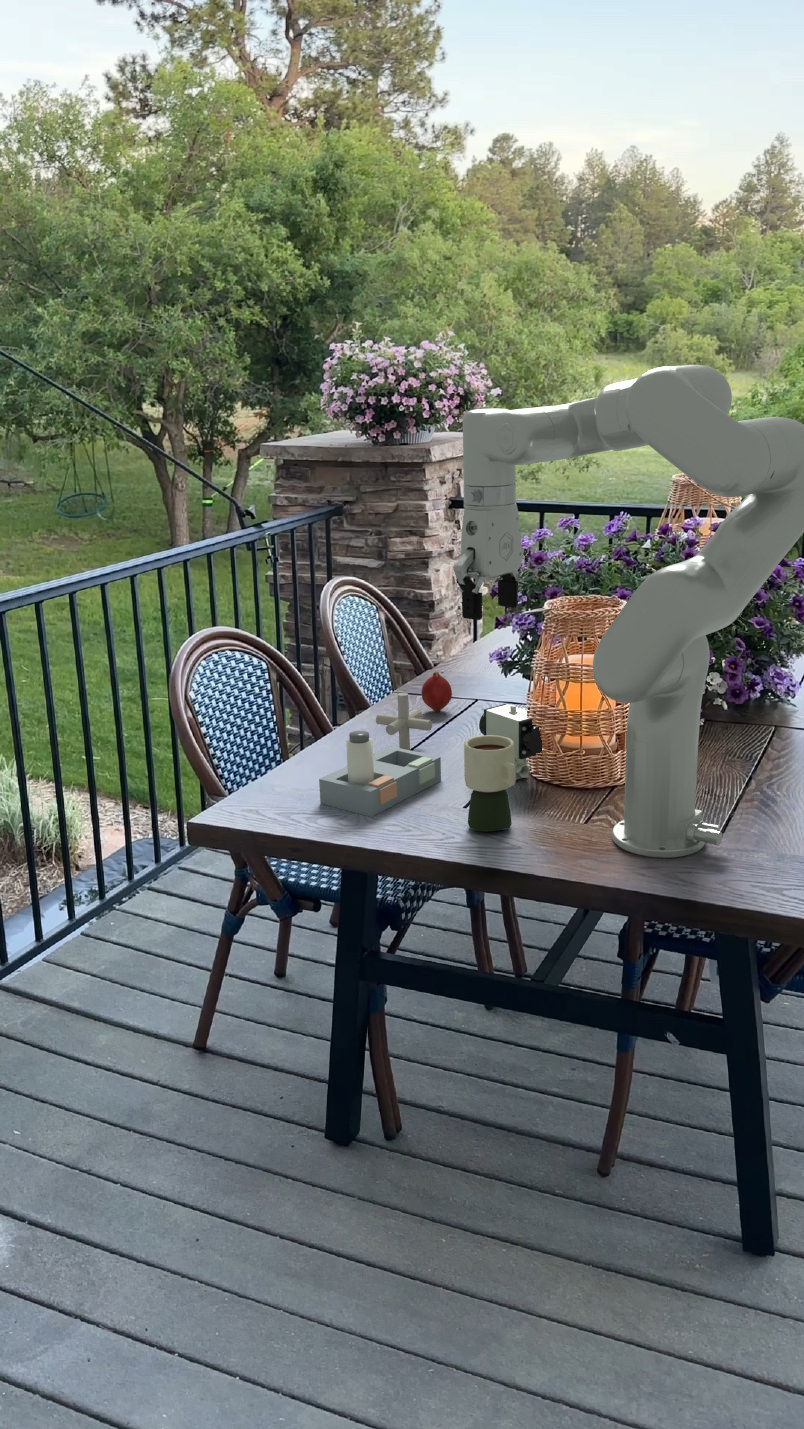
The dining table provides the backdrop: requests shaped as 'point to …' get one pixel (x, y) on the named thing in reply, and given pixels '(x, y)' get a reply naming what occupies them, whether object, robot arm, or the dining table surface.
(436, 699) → the onion
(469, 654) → the dining table surface
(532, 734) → the pneumatic valve
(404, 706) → the pipe connector
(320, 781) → the socket block
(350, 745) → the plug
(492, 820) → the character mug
